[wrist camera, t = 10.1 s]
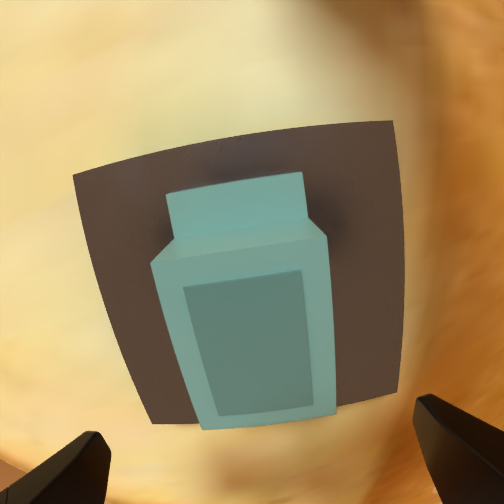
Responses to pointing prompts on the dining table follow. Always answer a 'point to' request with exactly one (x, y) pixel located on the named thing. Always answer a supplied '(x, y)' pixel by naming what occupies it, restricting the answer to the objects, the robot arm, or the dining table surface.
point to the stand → (319, 212)
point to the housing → (249, 302)
